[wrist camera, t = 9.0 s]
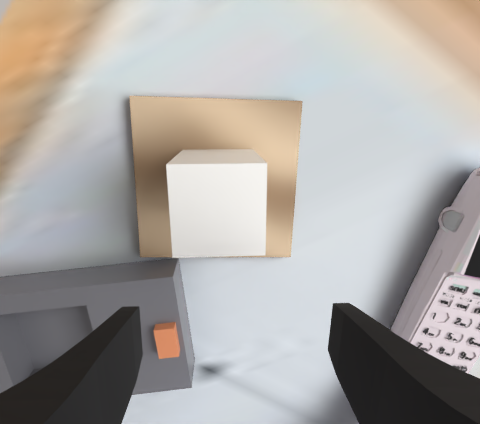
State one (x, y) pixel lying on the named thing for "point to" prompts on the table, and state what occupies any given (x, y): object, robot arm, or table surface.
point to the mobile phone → (448, 286)
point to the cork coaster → (213, 137)
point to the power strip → (96, 319)
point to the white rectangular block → (217, 203)
